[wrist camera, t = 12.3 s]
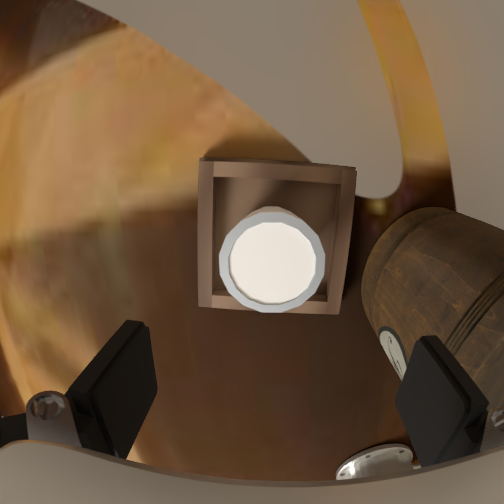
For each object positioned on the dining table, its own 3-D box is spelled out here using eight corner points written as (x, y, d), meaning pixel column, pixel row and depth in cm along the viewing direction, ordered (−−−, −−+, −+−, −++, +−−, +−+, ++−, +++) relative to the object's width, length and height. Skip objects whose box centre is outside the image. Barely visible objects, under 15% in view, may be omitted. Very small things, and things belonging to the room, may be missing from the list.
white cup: (238, 191, 25) (227, 201, 18) (319, 207, 25) (337, 223, 18) (225, 268, 27) (211, 303, 20) (301, 283, 27) (311, 321, 20)
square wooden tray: (352, 167, 25) (360, 167, 22) (336, 305, 29) (341, 317, 26) (202, 157, 25) (195, 157, 23) (201, 297, 29) (195, 309, 27)
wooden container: (336, 325, 29) (401, 532, 8) (393, 183, 25) (610, 252, 4) (442, 350, 30) (533, 487, 9) (496, 235, 26) (645, 318, 4)
